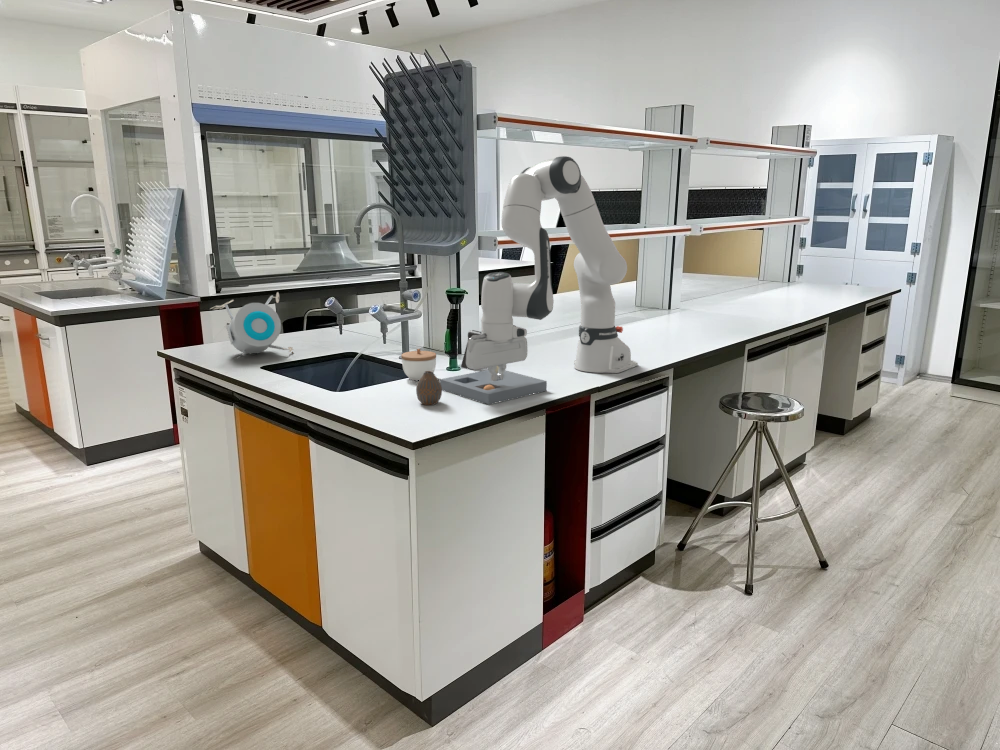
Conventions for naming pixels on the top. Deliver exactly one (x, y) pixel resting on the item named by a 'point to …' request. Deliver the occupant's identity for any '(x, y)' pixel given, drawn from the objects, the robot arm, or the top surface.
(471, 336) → the door stopper
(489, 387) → the terracotta ball
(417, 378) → the lidded jar
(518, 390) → the hole plate
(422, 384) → the vase
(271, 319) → the satellite
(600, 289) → the robot arm
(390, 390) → the top surface
